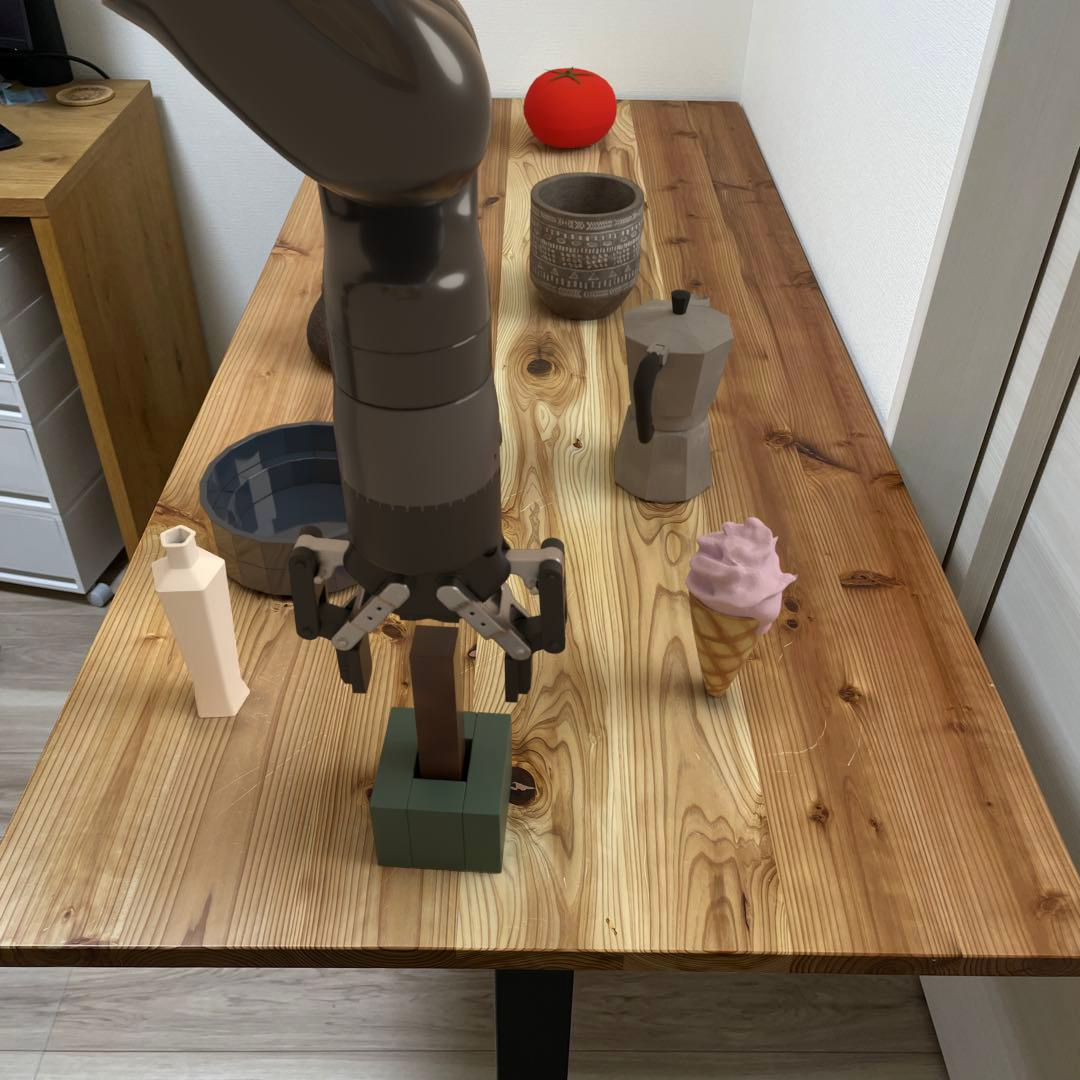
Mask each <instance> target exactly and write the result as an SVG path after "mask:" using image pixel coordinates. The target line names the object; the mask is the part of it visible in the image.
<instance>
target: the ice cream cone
mask: <svg viewBox="0 0 1080 1080" xmlns="http://www.w3.org/2000/svg"><path fill="white" fill-rule="evenodd" d="M721 526H722V530H719V531H712V532H708V533H706V534H703V535H700V536H698V537H696V538H695V542H696V544H697V545H698V549H697V551H696V552H695V554H694V555H692V556H691V558H690V559H689V561H688V563H689V564H688V565H689V567H690V570H689V571H688V573H687V575H686V578H685V586H686V588H687V591H688V600H689V601H688V602H689V611H690V619H691V625H692V632H693V637H694V643H695V647H696V652H697V657H698V661H699V665H700V669H701V673H702V677H703V681H704V686H705V689H706V690H705V691H706V692H707V693H708V694H709V695H710V696H711V697H715V698H720V697H722V696H724V695H725V694H726V692H727V691H728V690H729V688H730V687H731V685H732V683H733V682H734V680H735V679H736V678H737V676H738V675H739V673H740V671H741V669H742V668H743V666H744V665H745V663H746V662H747V660H748V659H749V657H750V656H751V654H752V652H753V651H754V649H755V648H756V646H757V644H758V642H759V640H760V638H761V637H762V635H765V634H766V633H767V632H768V631H769V630H770V629H771V627H772V623H773V622H774V621H776V620H777V619H778V617H779V615H780V613H781V608H782V600H783V591H784V590H785V589H786V588H787V587H788V586H789V585H790V584H791V583H793V582H795V581H796V580H797V579H798V576H799V573H796V574H792V573H789V572H785V573H784V572H783V571H782V570H781V566H780V556H779V555H778V554H777V552H776V544H777V541H778V539H779V536H778V535H777V536H775V537H773V532H772V530H771V529H770V528H769V527H768V526H766V525H765V524H764V522H762V521H761V520H760V519H759V518H757V517H754V516H749V517H747V518H746V519H745V522H744V523H737V522H732V521H724V522H723V523H722V524H721Z"/></svg>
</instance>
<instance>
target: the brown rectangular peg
mask: <svg viewBox="0 0 1080 1080" xmlns="http://www.w3.org/2000/svg"><path fill="white" fill-rule="evenodd" d="M413 631H414V632H413V635H412V641H411V644H410V650H409V654H408V660H409V661H408V662H409V670H410V680H411V681H410V682H411V690H412V691H411V692H412V701H413V708H414V713H415V723H416V733H417V743H418V753H419V763H420V774H421V779H429V780H445V781H461V782H467V768H466V749H465V730H464V712H463V711H464V699H463V698H464V695H463V675H462V659H461V641H460V627H459V626H447V625H446V626H442V625H429V624H428V625H426V624H416V625H415V627H414V630H413Z"/></svg>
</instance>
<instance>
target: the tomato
mask: <svg viewBox="0 0 1080 1080" xmlns="http://www.w3.org/2000/svg"><path fill="white" fill-rule="evenodd" d="M543 70H544V71H545V72H543V73H541V74H540V75H539V76H537V77H536V78H535V79H534V80H533V81H532V83H531V84H530V86H529V88H528V89H527V91H526V94H525V96H524V101H523V105H522V107H523V108H522V109H523V117H524V119H525V122H526V124H527V127H528V128H529V130H530V132H531V133H532V135H533V136H534V137H535V138H536V140H537V141H539V142H541V143H543V144H545V145H546V146H549V147H552V148H556V149H557V148H558V149H575V148H585V147H588V146H589V147H590V146H592V145H594V144H596V143H598V142H599V141H601V140H602V139H603V138H604V137H605V136H606V135H607V134H609V132H610V130H611V129H612V127H613V126H614V124H615V122H616V118H617V113H618V105H617V103H618V102H617V99H616V94H615V92H614V89H613V87H612V86H611V85H610V83H609V82H608V81H607V80H606V79H605V78H603V77H602V76H601V75H599V74H597V73H595V72H593V71H590V70H587V69H583V68H578V67H574V66H572V67H563V68H553V69H547V70H546V69H545V68H543Z"/></svg>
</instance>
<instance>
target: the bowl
mask: <svg viewBox="0 0 1080 1080" xmlns="http://www.w3.org/2000/svg"><path fill="white" fill-rule="evenodd" d="M198 494H199V495H198V498H199V499H198V500H199V501H198V502H199V505H200V509H201V514H202V518H203V522H204V526H205V530H206V534H207V539H208V541H209V542H208V543H209V546H210V550H211V553H212V554H214V555H216V556H218V557H220V558H222V559H223V560H224V561H225V568H226V575H227V577H230V578H231V579H233V580H234V581H236V582H237V583H239V584H240V585H241V586H243V587H246V588H250V589H252V590H256V591H260V592H262V593H265V594H268V595H274V596H275V595H276V596H291V597H292V591H291V582H290V574H289V565H288V562H289V559H290V556H291V553H292V551H293V548H294V545H295V543H296V540H297V537H298V535H299V532H300V530H301V528H302V527H304V526H306V525H312V526H315V527H317V528H319V529H320V530H321V531H322V533H323V538H325V539H335V540H346V541H348V540H349V533H348V526H347V518H346V511H345V504H344V497H343V490H342V483H341V476H340V469H339V462H338V455H337V448H336V440H335V433H334V424H333V421H327V420H326V421H325V420H323V421H322V420H305V421H299V422H291V423H283V424H279V425H275V426H272V427H268V428H265V429H262V430H258V431H256V432H252V433H250V434H248V435H246V436H245V437H243V438H241V439H238V440H237V441H235V442H233V443H231V444H230V445H228V446H226V447H225V448H223V450H222V451H221V452H220V453H219V454H218V455H217V456H215V457H214V458H213V459H212V460H211V461H210V462H209V463H208V464H207V466H206V468H205V470H204V472H203V474H202V476H201V478H200V480H199V482H198ZM357 584H358V583H357V582H356V581H355V580H354V579H353V578H352V577H351V576H350V575H349V574H348V573H347V571H346V570H345V568H344V566H343V565H342V566H338V567H336V568H335V569H334V571H333V575H332V577H331V578H329V579H327V586H328V594H329V593H334V592H335V593H336V592H338V591H342V590H344V589H346V588H350V587H351V586H354V585H357Z"/></svg>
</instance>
